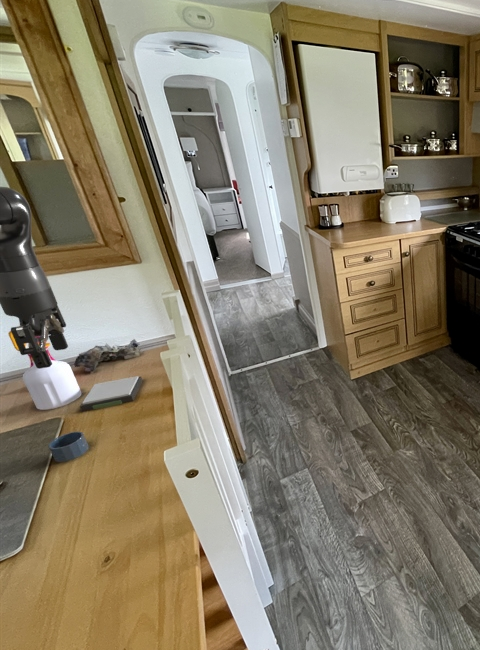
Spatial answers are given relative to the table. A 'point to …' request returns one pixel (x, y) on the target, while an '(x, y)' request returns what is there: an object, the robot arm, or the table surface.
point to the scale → (112, 393)
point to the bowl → (68, 446)
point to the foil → (105, 354)
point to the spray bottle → (50, 383)
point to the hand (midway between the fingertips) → (53, 357)
